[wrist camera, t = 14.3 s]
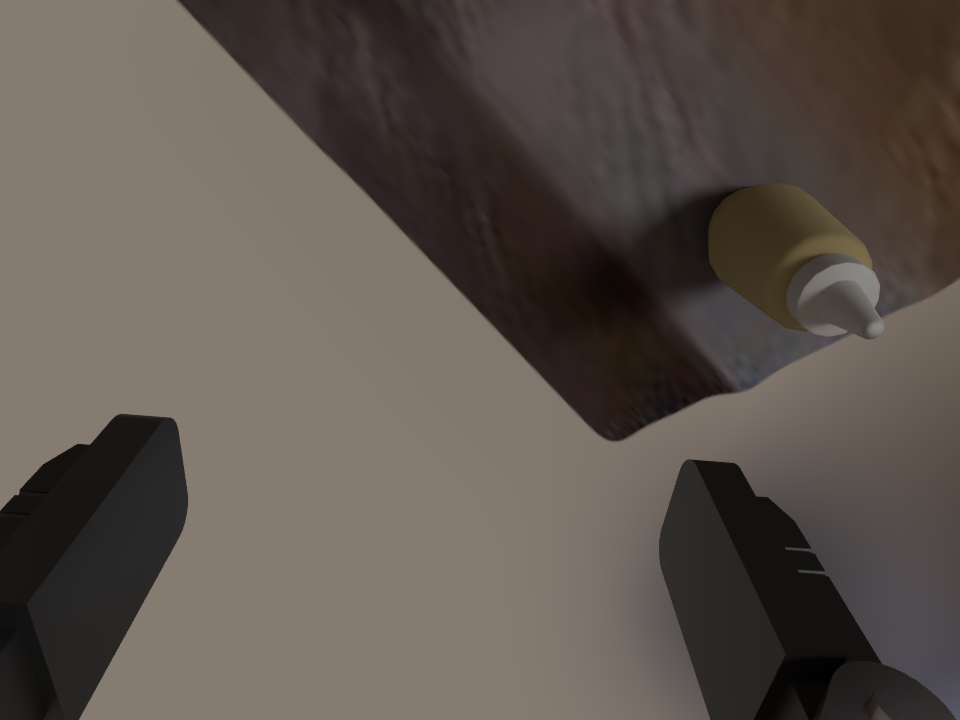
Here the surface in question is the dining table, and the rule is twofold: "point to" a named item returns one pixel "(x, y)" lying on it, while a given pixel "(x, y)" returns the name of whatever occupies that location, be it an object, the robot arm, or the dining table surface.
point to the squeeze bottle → (794, 261)
